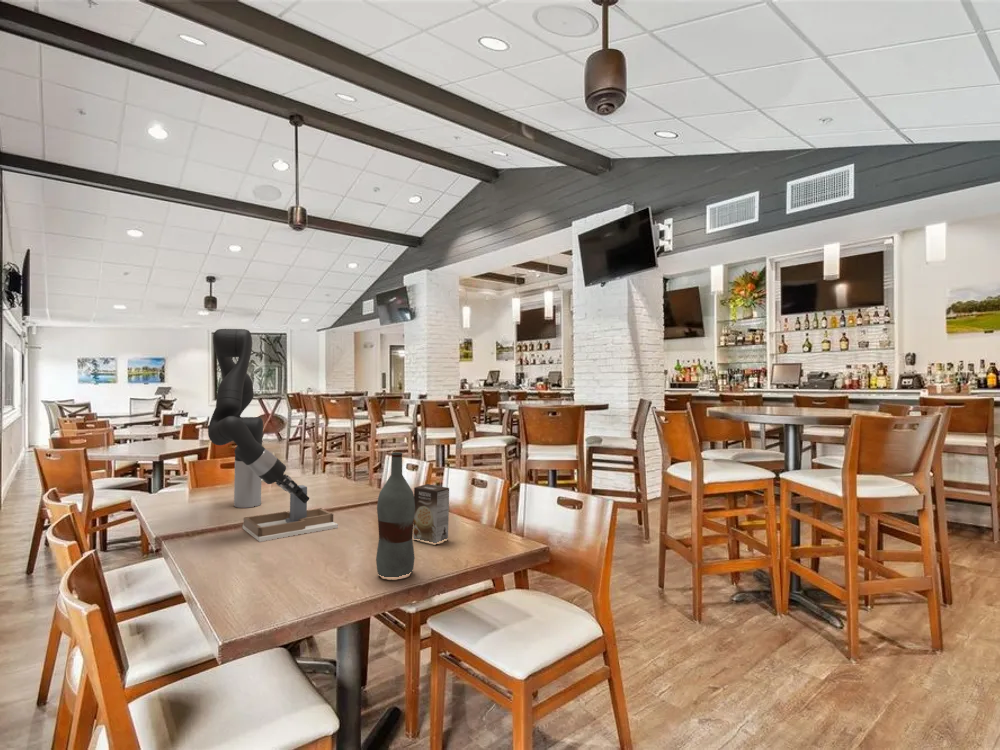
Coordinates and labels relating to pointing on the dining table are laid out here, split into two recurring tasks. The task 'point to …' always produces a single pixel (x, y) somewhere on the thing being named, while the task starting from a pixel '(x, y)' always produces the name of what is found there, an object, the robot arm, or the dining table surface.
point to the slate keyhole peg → (297, 507)
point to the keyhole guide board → (287, 524)
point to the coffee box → (431, 513)
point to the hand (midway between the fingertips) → (304, 499)
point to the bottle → (395, 524)
